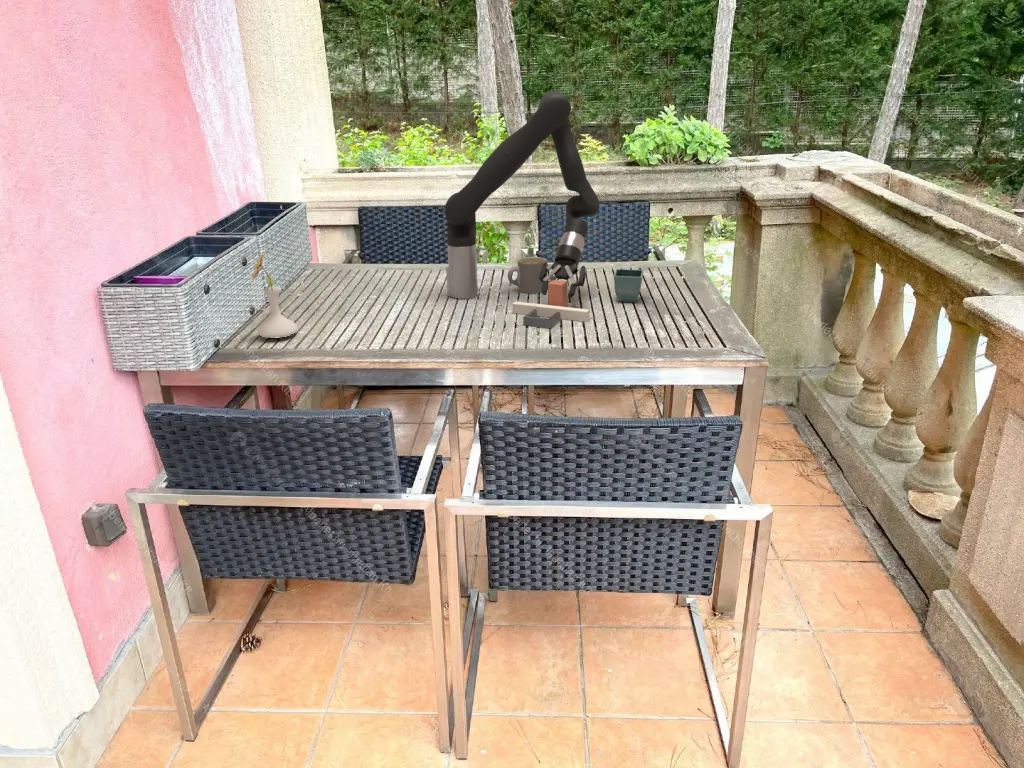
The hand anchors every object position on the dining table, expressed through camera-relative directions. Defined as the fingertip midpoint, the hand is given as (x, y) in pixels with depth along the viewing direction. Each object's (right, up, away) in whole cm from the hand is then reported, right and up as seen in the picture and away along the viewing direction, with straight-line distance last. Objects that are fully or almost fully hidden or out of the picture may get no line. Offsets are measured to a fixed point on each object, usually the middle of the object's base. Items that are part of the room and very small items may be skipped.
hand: (556, 295), depth 236 cm
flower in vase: (-81, -14, -15) cm, 83 cm away
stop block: (0, -4, +3) cm, 5 cm away
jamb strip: (0, -5, +1) cm, 5 cm away
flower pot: (+23, 0, +12) cm, 26 cm away
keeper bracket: (-5, -9, -8) cm, 13 cm away
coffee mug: (-8, +5, +25) cm, 27 cm away
